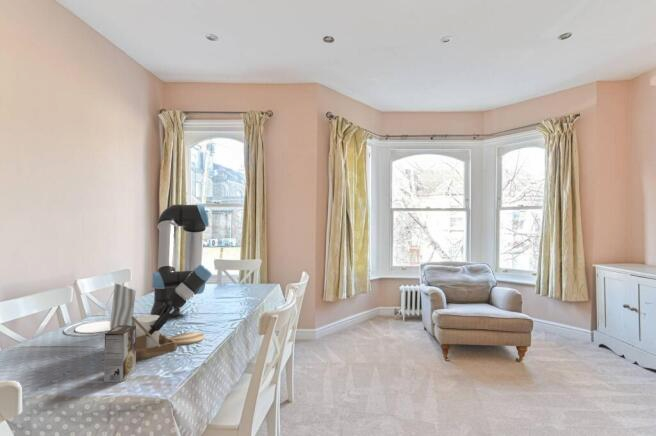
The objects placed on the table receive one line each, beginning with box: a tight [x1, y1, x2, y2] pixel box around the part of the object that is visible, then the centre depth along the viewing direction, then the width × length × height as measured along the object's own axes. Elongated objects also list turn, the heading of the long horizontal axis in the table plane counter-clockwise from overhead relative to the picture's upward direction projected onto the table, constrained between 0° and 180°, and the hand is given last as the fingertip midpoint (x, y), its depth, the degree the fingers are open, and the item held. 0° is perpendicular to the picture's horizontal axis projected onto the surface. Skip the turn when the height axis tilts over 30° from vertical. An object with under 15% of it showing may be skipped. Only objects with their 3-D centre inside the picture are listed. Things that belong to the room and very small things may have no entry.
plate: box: [63, 317, 111, 337], centre depth 172 cm, size 28×28×1 cm
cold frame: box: [109, 282, 178, 362], centre depth 143 cm, size 22×18×27 cm
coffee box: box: [103, 325, 137, 383], centre depth 119 cm, size 9×6×16 cm
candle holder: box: [133, 314, 161, 348], centre depth 144 cm, size 10×10×12 cm
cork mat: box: [170, 332, 205, 346], centre depth 156 cm, size 15×15×1 cm
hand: (138, 338), depth 142 cm, fingers closed on candle holder, 9 cm apart
